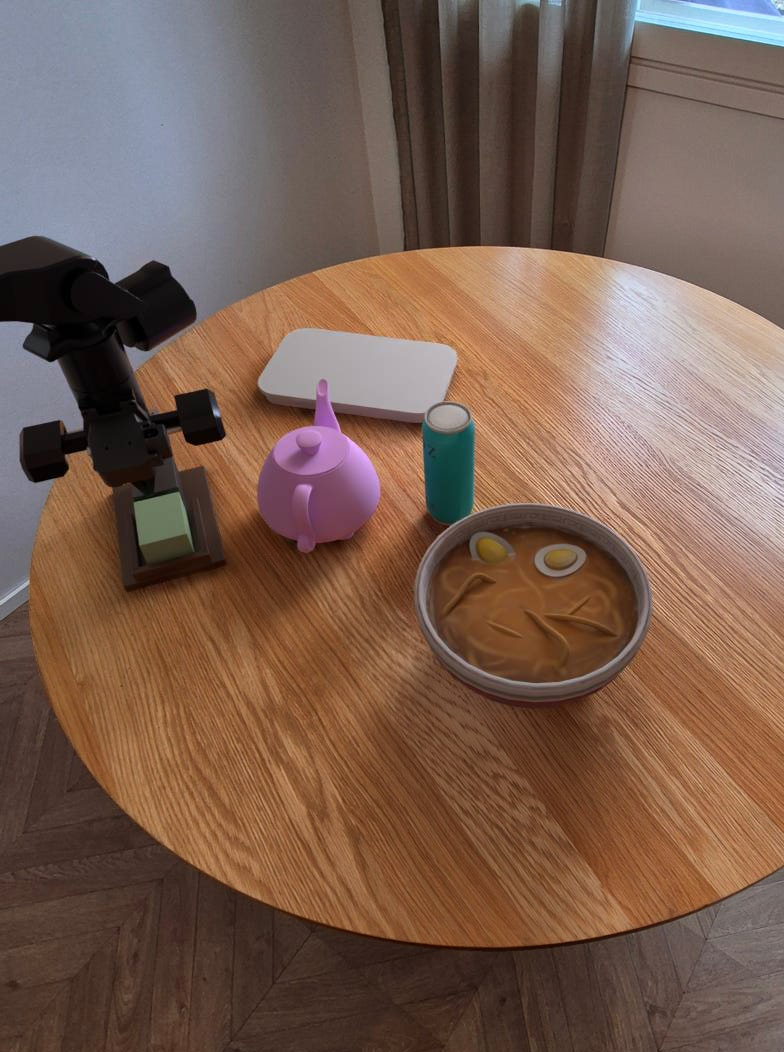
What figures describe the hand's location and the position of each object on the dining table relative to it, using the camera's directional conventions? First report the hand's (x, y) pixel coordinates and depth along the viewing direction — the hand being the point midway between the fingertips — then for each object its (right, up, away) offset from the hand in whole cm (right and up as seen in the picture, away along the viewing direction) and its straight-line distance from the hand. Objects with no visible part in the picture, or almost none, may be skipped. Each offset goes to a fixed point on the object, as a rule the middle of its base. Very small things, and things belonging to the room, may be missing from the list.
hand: (150, 493), depth 85 cm
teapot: (+17, -1, +11) cm, 20 cm away
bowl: (+41, -16, -2) cm, 44 cm away
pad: (0, -5, +6) cm, 8 cm away
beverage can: (+32, -2, +11) cm, 34 cm away
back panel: (-1, -4, +9) cm, 9 cm away
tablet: (+19, +17, +28) cm, 38 cm away
